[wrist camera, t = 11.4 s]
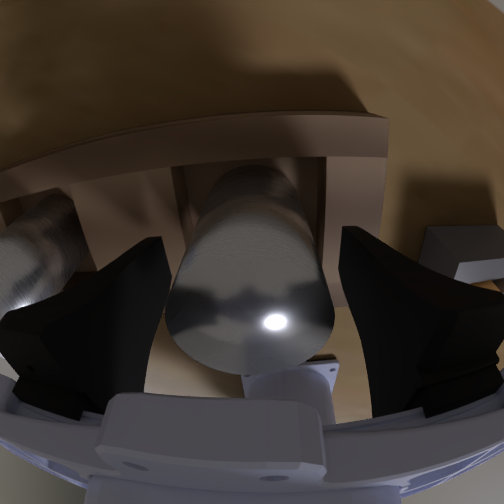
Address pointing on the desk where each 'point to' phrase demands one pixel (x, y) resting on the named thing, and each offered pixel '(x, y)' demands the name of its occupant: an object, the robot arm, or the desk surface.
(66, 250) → the cylinder
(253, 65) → the desk surface
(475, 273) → the button housing
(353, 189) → the frame
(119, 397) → the robot arm
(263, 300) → the steel billet
